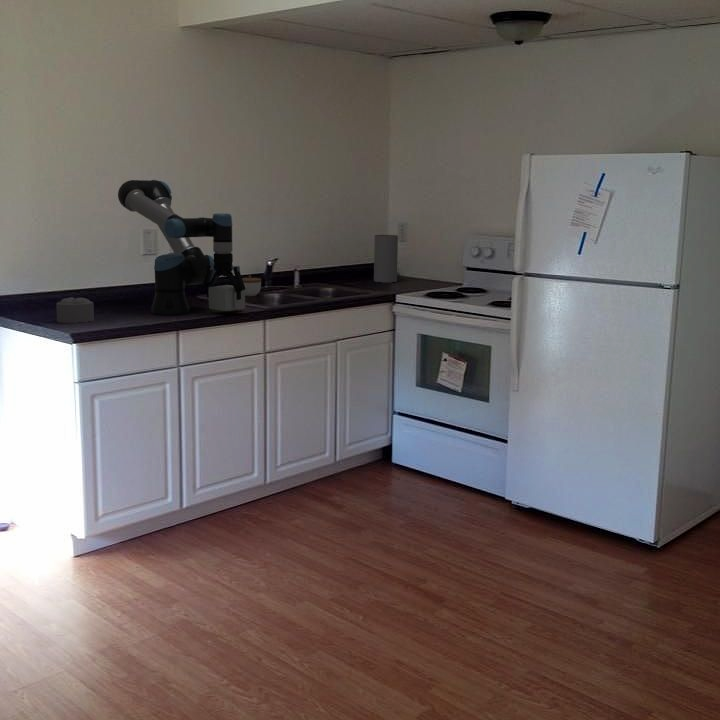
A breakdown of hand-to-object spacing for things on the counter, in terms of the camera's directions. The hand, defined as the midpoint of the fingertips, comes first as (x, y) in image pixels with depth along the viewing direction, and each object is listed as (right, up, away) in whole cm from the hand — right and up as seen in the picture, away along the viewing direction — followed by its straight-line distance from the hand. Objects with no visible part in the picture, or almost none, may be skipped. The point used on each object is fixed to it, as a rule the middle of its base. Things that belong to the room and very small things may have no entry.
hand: (224, 307), depth 363 cm
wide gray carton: (+1, -1, +1) cm, 2 cm away
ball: (+4, +1, +8) cm, 10 cm away
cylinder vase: (+69, +21, +126) cm, 145 cm away
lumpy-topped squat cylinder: (-53, -7, -23) cm, 58 cm away
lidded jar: (+3, +9, +60) cm, 61 cm away
